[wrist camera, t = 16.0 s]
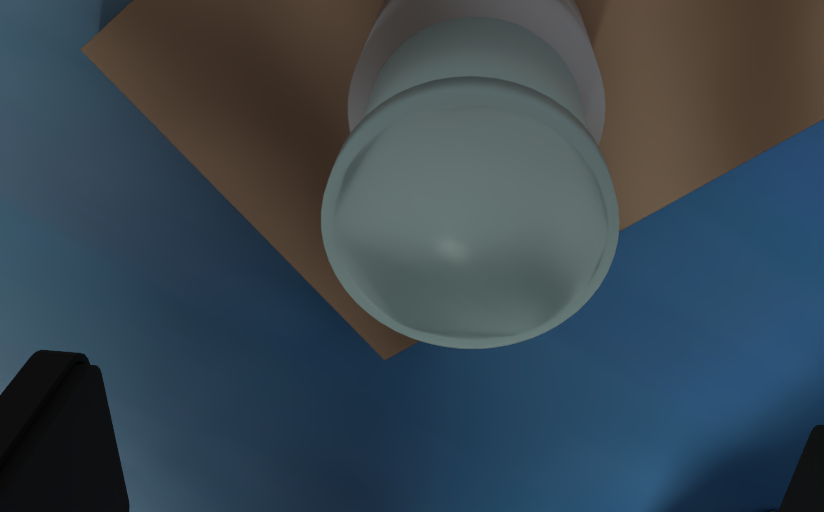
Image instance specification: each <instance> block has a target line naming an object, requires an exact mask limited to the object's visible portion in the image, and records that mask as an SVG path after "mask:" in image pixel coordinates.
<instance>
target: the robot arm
mask: <svg viewBox="0 0 824 512" xmlns="http://www.w3.org/2000/svg"><path fill="white" fill-rule="evenodd" d="M0 512H129V499H128V495H127V490H126V485H125V481H124V476H123V471H122V467H121V462H120V457H119V453H118V448H117V443H116V439H115V434H114V429H113V425H112V420H111V415H110V411H109V406H108V401H107V397H106V392H105V387H104V383H103V378H102V374H101V371H100V368H99V367H98V366H96V365H90V363H89V360H88V358H87V357H86V356H85V354H82V353H73V352H61V351H49V350H40V351H37V352H35V353H34V354H33V355H32V356H31V357H30V358H29V360H28V361H27V362H26V363H25V365H24V366H23V367H22V368H21V370H20V371H19V372H18V373H17V375H16V376H15V377H14V379H13V380H12V381H11V382H10V384H9V385H8V386H7V387H6V389H5V390H4V391H3V392H2V394H1V395H0ZM778 512H824V425H817V426H815V427H814V428H813V430H812V431H811V433H810V436H809V438H808V440H807V443H806V445H805V448H804V450H803V453H802V455H801V458H800V460H799V462H798V465H797V467H796V470H795V472H794V475H793V477H792V479H791V482H790V484H789V487H788V489H787V492H786V494H785V496H784V499H783V501H782V504H781V506H780V509H779V511H778Z"/></svg>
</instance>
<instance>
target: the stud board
mask: <svg viewBox="0 0 824 512" xmlns="http://www.w3.org/2000/svg"><path fill="white" fill-rule="evenodd" d="M462 17H487V18H495V19H500V20H504V21H508V22H511V23H514V24H516V25H519V26H522V27H524V28H526V29H527V30H529V31H531V32H533V33H535V34H536V35H538V36H539V37H540V38H542V39H543V40H545V41H546V42H547V43H548V44H549V45H550V46H551V47H552V48H553V49H554V50H556V51H557V53H558V54H559V55H560V56H561V58H562V59H563V60H564V62H565V63H566V65H567V66H568V68H569V70H570V71H571V73H572V75H573V78H574V80H575V83H576V85H577V88H578V92H579V96H580V100H581V104H582V108H583V112H584V117H585V121H586V125H587V129H588V131H589V132H590V134H591V135H592V136H593V138H594V139H595V141H596V143H597V144H598V146H599V148H600V149H601V151H602V153H603V156H604V158H605V161H606V163H607V166H608V168H609V172H610V175H611V179H612V183H613V187H614V190H615V195H616V199H617V203H618V210H619V231H621V230H623V229H625V228H626V227H628V226H630V225H632V224H634V223H636V222H637V221H639V220H641V219H643V218H645V217H646V216H648V215H650V214H652V213H654V212H656V211H657V210H659V209H661V208H663V207H665V206H666V205H668V204H670V203H672V202H674V201H676V200H677V199H679V198H681V197H683V196H685V195H686V194H688V193H690V192H692V191H694V190H696V189H697V188H699V187H701V186H703V185H705V184H706V183H708V182H710V181H712V180H714V179H716V178H717V177H719V176H721V175H723V174H725V173H726V172H728V171H730V170H732V169H734V168H735V167H737V166H739V165H741V164H743V163H745V162H746V161H748V160H750V159H752V158H754V157H755V156H757V155H759V154H761V153H763V152H765V151H766V150H768V149H770V148H772V147H774V146H775V145H777V144H779V143H781V142H783V141H785V140H786V139H788V138H790V137H792V136H794V135H795V134H797V133H799V132H801V131H803V130H805V129H806V128H808V127H810V126H812V125H814V124H815V123H817V122H819V121H821V120H823V119H824V0H133V1H132V2H131V3H129V4H128V5H127V6H126V7H125V8H124V9H123V10H122V11H121V12H120V13H119V14H118V15H117V16H116V17H115V18H113V19H112V20H111V21H110V22H109V23H108V24H107V25H106V26H105V27H104V28H103V29H102V30H101V31H100V32H99V33H97V34H96V35H95V36H94V37H93V38H92V39H91V40H90V41H89V42H88V43H87V44H86V45H85V46H84V47H83V48H81V49H80V50H81V51H82V52H83V53H84V54H85V55H86V56H87V57H88V58H89V59H90V60H91V61H92V62H93V63H94V64H95V65H96V66H97V67H98V68H99V69H100V70H101V71H102V72H103V73H104V74H105V75H106V76H107V78H108V79H109V80H110V81H111V82H112V83H113V84H114V85H115V86H116V87H117V88H118V89H119V90H120V91H121V92H122V93H123V94H124V95H125V96H126V97H127V98H128V99H129V100H130V101H131V102H132V103H133V104H134V105H135V106H136V107H137V108H138V109H139V110H140V111H141V112H142V113H143V114H144V115H145V116H146V117H147V118H148V119H149V120H150V121H151V122H152V123H153V124H154V125H155V126H156V128H157V129H158V130H159V131H160V132H161V133H162V134H163V135H164V136H165V137H166V138H167V139H168V140H169V141H170V142H171V143H172V144H173V145H174V146H175V147H176V148H177V149H178V150H179V151H180V152H181V153H182V154H183V155H184V156H185V157H186V158H187V159H188V160H189V161H190V162H191V163H192V164H193V165H194V166H195V167H196V168H197V169H198V170H199V171H200V172H201V173H202V174H203V175H204V176H205V178H206V179H207V180H208V181H209V182H210V183H211V184H212V185H213V186H214V187H215V188H216V189H217V190H218V191H219V192H220V193H221V194H222V195H223V196H224V197H225V198H226V199H227V200H228V201H229V202H230V203H231V204H232V205H233V206H234V207H235V208H236V209H237V210H238V211H239V212H240V213H241V214H242V215H243V216H244V217H245V218H246V219H247V220H248V221H249V222H250V223H251V224H252V225H253V226H254V228H255V229H256V230H257V231H258V232H259V233H260V234H261V235H262V236H263V237H264V238H265V239H266V240H267V241H268V242H269V243H270V244H271V245H272V246H273V247H274V248H275V249H276V250H277V251H278V252H279V253H280V254H281V255H282V256H283V257H284V258H285V259H286V260H287V261H288V262H289V263H290V264H291V265H292V266H293V267H294V268H295V269H296V270H297V271H298V272H299V273H300V274H301V275H302V276H303V278H304V279H305V280H306V281H307V282H308V283H309V284H310V285H311V286H312V287H313V288H314V289H315V290H316V291H317V292H318V293H319V294H320V295H321V296H322V297H323V298H324V299H325V300H326V301H327V302H328V303H329V304H330V305H331V306H332V307H333V308H334V309H335V310H336V311H337V312H338V313H339V314H340V315H341V316H342V317H343V318H344V319H345V320H346V321H347V322H348V323H349V324H350V325H351V326H352V328H353V329H354V330H355V331H356V332H357V333H358V334H359V335H360V336H361V337H362V338H363V339H364V340H365V341H366V342H367V343H368V344H369V345H370V346H371V347H372V348H373V349H374V350H375V351H376V352H377V353H378V354H379V355H380V356H381V357H382V358H383V359H384V360H387V359H388V358H390V357H392V356H394V355H396V354H397V353H399V352H401V351H403V350H405V349H407V348H408V347H410V346H412V345H414V344H416V343H417V342H419V340H416V339H413V338H410V337H408V336H406V335H403V334H401V333H399V332H396V331H395V330H393V329H391V328H389V327H388V326H386V325H384V324H382V323H381V322H379V321H378V320H377V319H375V318H374V317H372V316H371V315H370V314H368V313H367V312H366V311H365V310H364V309H363V308H362V307H361V306H360V305H358V304H357V303H356V302H355V301H354V299H353V298H352V297H351V296H350V295H349V294H348V292H347V291H346V290H345V289H344V287H343V286H342V284H341V283H340V281H339V280H338V278H337V276H336V275H335V273H334V271H333V269H332V266H331V264H330V262H329V260H328V257H327V254H326V250H325V247H324V243H323V237H322V230H321V209H322V202H323V196H324V192H325V189H326V186H327V183H328V179H329V177H330V174H331V171H332V169H333V166H334V163H335V161H336V158H337V156H338V154H339V152H340V150H341V148H342V146H343V144H344V142H345V141H346V139H347V138H348V136H349V135H350V133H351V132H352V131H353V129H354V128H355V127H356V126H357V125H358V124H359V123H360V121H361V120H362V117H363V114H364V111H365V108H366V106H367V103H368V100H369V97H370V94H371V91H372V89H373V86H374V83H375V81H376V78H377V76H378V74H379V72H380V70H381V69H382V67H383V66H384V64H385V63H386V61H387V60H388V58H389V57H390V56H391V55H392V54H393V53H394V51H395V50H396V49H397V48H398V47H399V46H400V45H402V44H403V43H404V42H405V41H406V40H407V39H409V38H410V37H412V36H413V35H415V34H416V33H418V32H420V31H421V30H423V29H425V28H428V27H430V26H432V25H434V24H437V23H440V22H443V21H447V20H451V19H457V18H462Z"/></svg>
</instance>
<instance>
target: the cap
mask: <svg viewBox="0 0 824 512" xmlns="http://www.w3.org/2000/svg"><path fill="white" fill-rule="evenodd" d="M321 230H322V237H323V243H324V247H325V250H326V254H327V257H328V260H329V262H330V264H331V266H332V269H333V271H334V273H335V275H336V276H337V278H338V280H339V281H340V283H341V284H342V286H343V287H344V289H345V290H346V291H347V292H348V294H349V295H350V296H351V297H352V298H353V299H354V301H355V302H356V303H357V304H358V305H360V306H361V307H362V308H363V309H364V310H365V311H366V312H367V313H368V314H370V315H371V316H372V317H374V318H375V319H377V320H378V321H379V322H381V323H382V324H384V325H386V326H388V327H389V328H391V329H393V330H395V331H396V332H399V333H401V334H403V335H406V336H408V337H410V338H413V339H416V340H419V341H422V342H425V343H429V344H433V345H438V346H443V347H450V348H460V349H484V348H494V347H501V346H506V345H511V344H516V343H519V342H522V341H525V340H528V339H531V338H534V337H536V336H538V335H540V334H543V333H545V332H547V331H549V330H551V329H553V328H554V327H556V326H558V325H559V324H561V323H563V322H564V321H565V320H567V319H568V318H569V317H571V316H572V315H573V314H575V313H576V312H577V311H578V310H579V309H580V308H581V307H582V306H583V305H584V304H585V303H586V302H587V301H588V300H589V299H590V298H591V297H592V296H593V294H594V293H595V292H596V290H597V289H598V288H599V287H600V285H601V283H602V281H603V280H604V278H605V276H606V275H607V273H608V271H609V268H610V266H611V263H612V261H613V258H614V255H615V251H616V247H617V243H618V235H619V210H618V203H617V199H616V195H615V190H614V187H613V183H612V179H611V175H610V172H609V168H608V166H607V163H606V161H605V158H604V156H603V153H602V151H601V149H600V148H599V146H598V144H597V143H596V141H595V139H594V138H593V136H592V135H591V134H590V132H589V131H588V129H587V125H586V121H585V117H584V112H583V108H582V104H581V100H580V96H579V92H578V88H577V85H576V83H575V80H574V78H573V75H572V73H571V71H570V70H569V68H568V66H567V65H566V63H565V62H564V60H563V59H562V58H561V56H560V55H559V54H558V53H557V51H556V50H554V49H553V48H552V47H551V46H550V45H549V44H548V43H547V42H546V41H545V40H543V39H542V38H540V37H539V36H538V35H536V34H535V33H533V32H531V31H529V30H527V29H526V28H524V27H522V26H519V25H516V24H514V23H511V22H508V21H504V20H500V19H495V18H487V17H462V18H457V19H451V20H447V21H443V22H440V23H437V24H434V25H432V26H430V27H428V28H425V29H423V30H421V31H420V32H418V33H416V34H415V35H413V36H412V37H410V38H409V39H407V40H406V41H405V42H404V43H403V44H402V45H400V46H399V47H398V48H397V49H396V50H395V51H394V53H393V54H392V55H391V56H390V57H389V58H388V60H387V61H386V63H385V64H384V66H383V67H382V69H381V70H380V72H379V74H378V76H377V78H376V81H375V83H374V86H373V89H372V91H371V94H370V97H369V100H368V103H367V106H366V108H365V111H364V114H363V117H362V120H361V121H360V123H359V124H358V125H357V126H356V127H355V128H354V129H353V131H352V132H351V133H350V135H349V136H348V138H347V139H346V141H345V142H344V144H343V146H342V148H341V150H340V152H339V154H338V156H337V158H336V161H335V163H334V166H333V169H332V171H331V174H330V177H329V179H328V183H327V186H326V189H325V192H324V196H323V202H322V209H321Z"/></svg>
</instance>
